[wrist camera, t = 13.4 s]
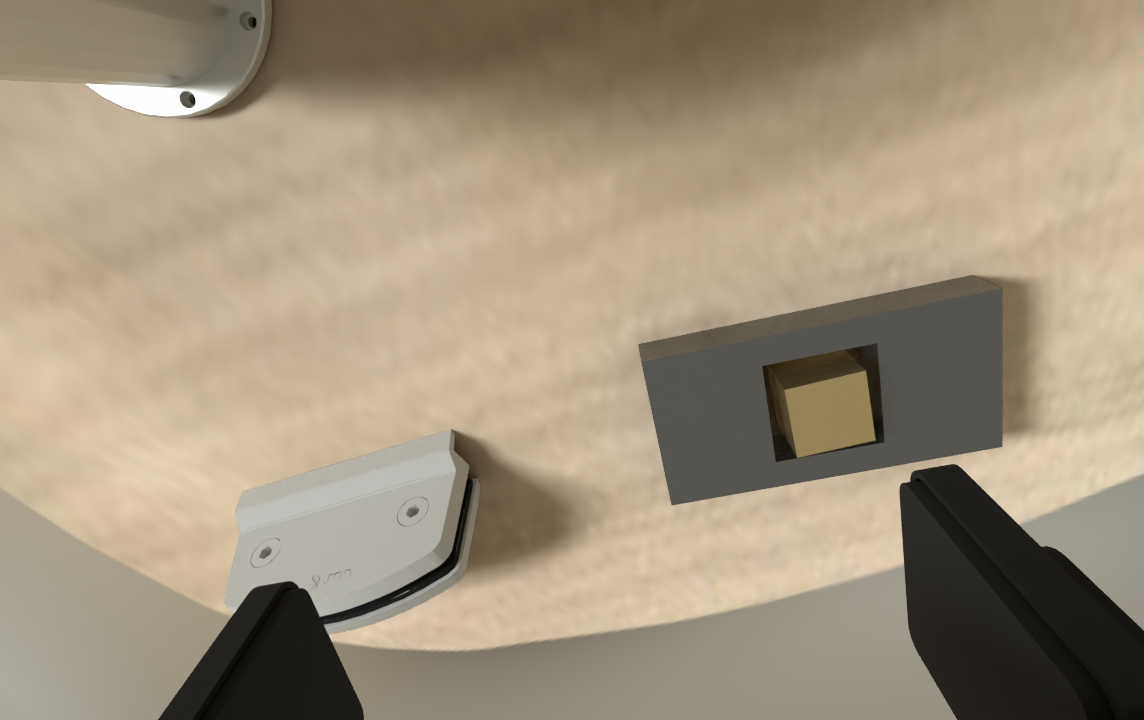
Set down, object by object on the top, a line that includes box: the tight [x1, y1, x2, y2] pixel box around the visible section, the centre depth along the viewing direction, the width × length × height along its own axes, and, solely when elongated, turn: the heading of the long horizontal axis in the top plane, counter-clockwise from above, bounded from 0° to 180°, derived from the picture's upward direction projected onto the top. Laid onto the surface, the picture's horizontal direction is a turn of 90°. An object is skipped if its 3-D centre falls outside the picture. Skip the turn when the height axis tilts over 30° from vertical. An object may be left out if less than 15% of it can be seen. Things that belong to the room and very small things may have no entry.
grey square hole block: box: [638, 275, 1002, 505], centre depth 40 cm, size 10×20×3 cm, turn 103°
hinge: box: [224, 430, 481, 634], centre depth 42 cm, size 17×5×10 cm, turn 109°
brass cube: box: [766, 350, 875, 458], centre depth 39 cm, size 4×4×4 cm
